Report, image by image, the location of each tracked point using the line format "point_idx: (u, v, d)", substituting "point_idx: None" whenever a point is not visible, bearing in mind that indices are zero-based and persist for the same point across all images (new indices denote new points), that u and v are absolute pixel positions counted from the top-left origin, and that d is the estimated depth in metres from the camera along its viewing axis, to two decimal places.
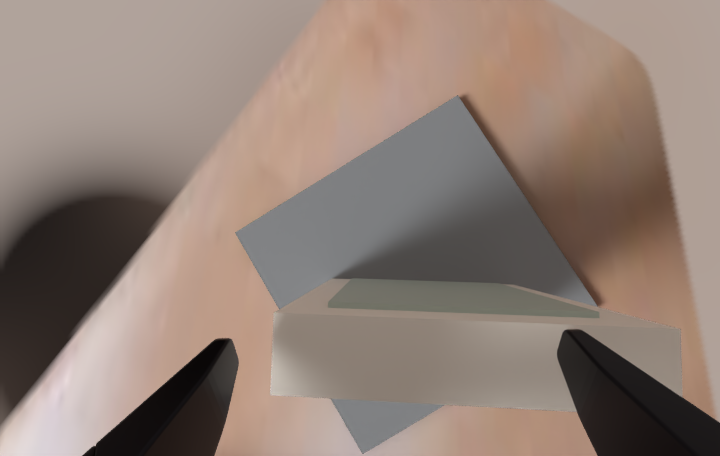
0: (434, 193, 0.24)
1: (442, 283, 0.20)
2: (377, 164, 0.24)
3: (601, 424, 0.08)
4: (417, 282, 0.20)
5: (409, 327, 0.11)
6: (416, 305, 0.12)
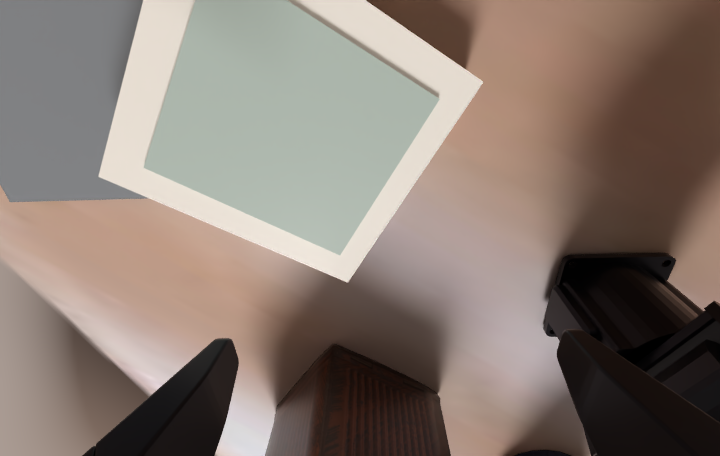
0: None
1: (217, 73, 0.14)
2: None
3: (601, 424, 0.08)
4: (203, 104, 0.15)
5: (386, 221, 0.18)
6: (368, 209, 0.17)
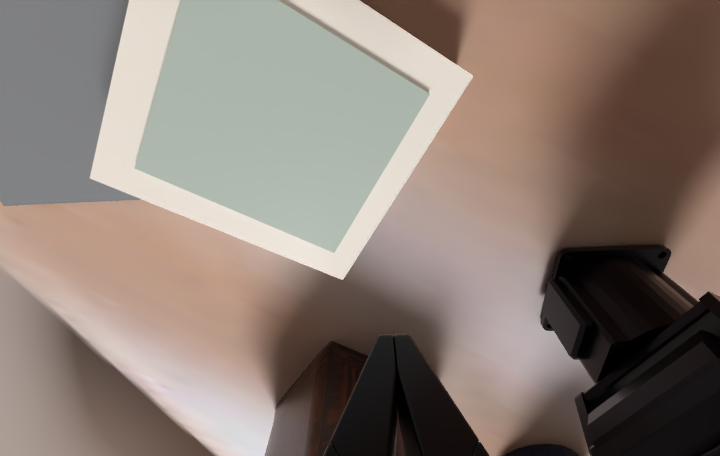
0: None
1: (206, 72, 0.14)
2: None
3: (402, 426, 0.08)
4: (192, 103, 0.15)
5: (380, 218, 0.18)
6: (361, 206, 0.17)
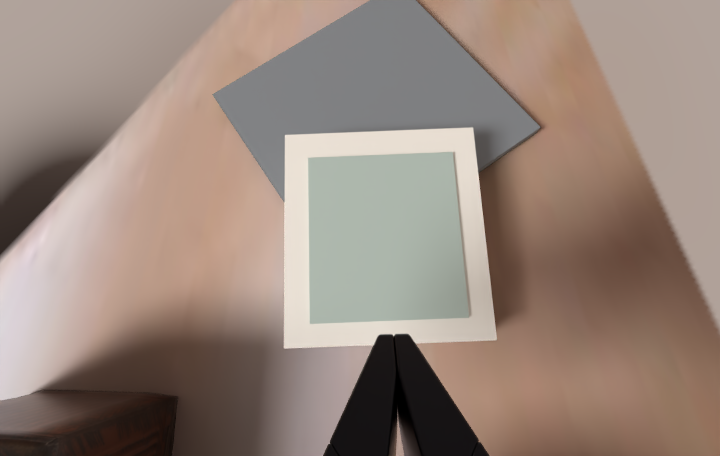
0: (385, 51, 0.28)
1: (395, 177, 0.22)
2: (335, 34, 0.29)
3: (402, 426, 0.08)
4: (372, 177, 0.22)
5: (358, 345, 0.20)
6: (363, 320, 0.20)
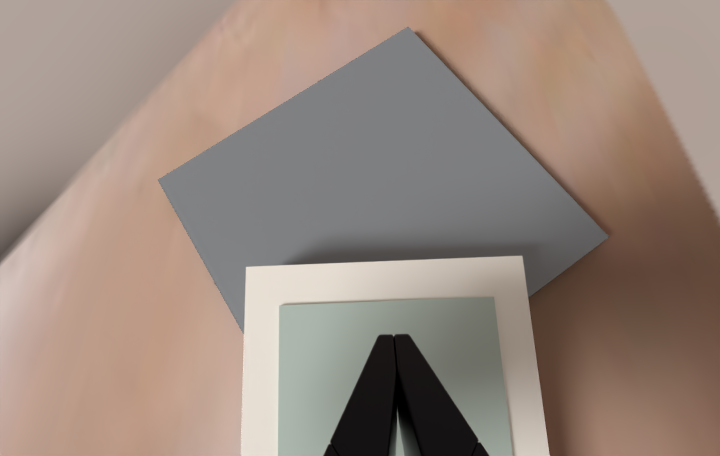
0: (391, 121, 0.21)
1: None
2: (324, 97, 0.21)
3: (402, 426, 0.08)
4: (374, 337, 0.14)
5: None
6: None
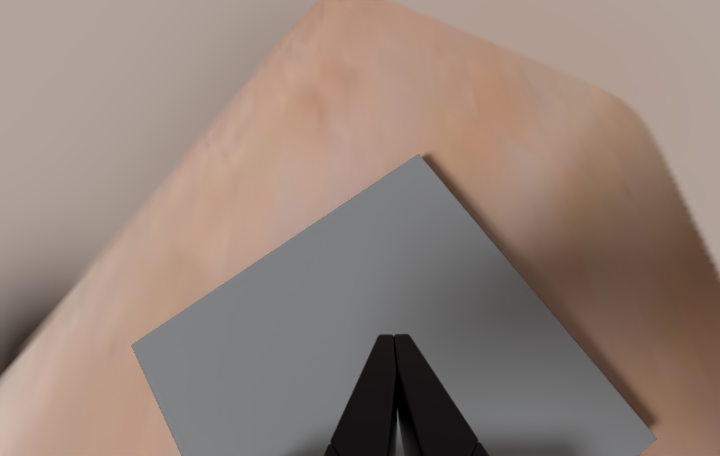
0: (400, 276, 0.18)
1: None
2: (323, 242, 0.19)
3: (402, 426, 0.08)
4: None
5: None
6: None
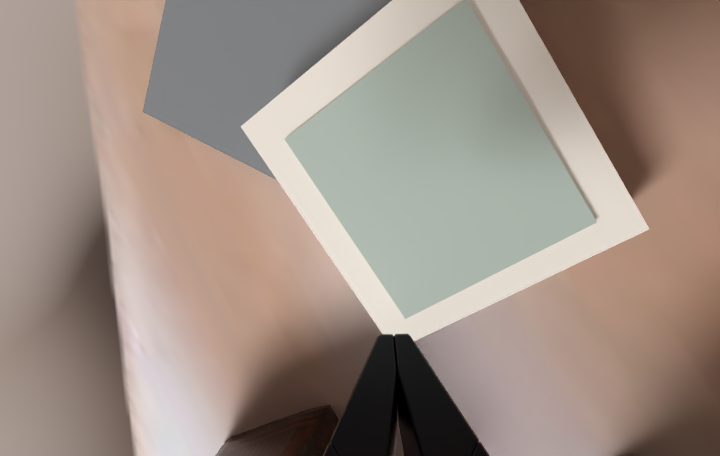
0: None
1: (404, 95, 0.14)
2: None
3: (402, 427, 0.08)
4: (374, 113, 0.15)
5: (470, 311, 0.17)
6: (462, 289, 0.16)
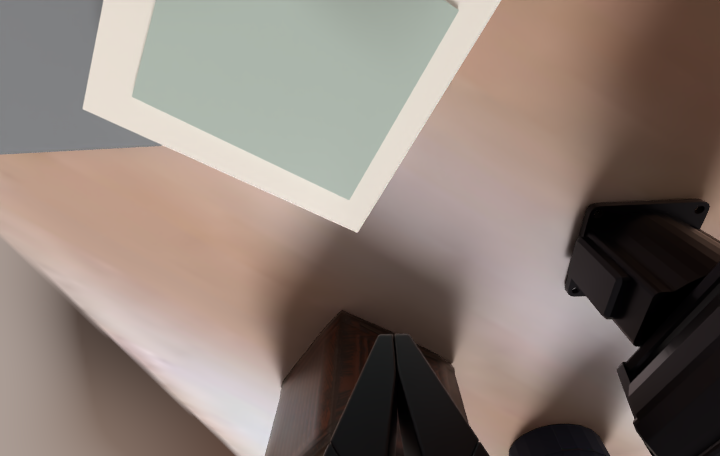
0: None
1: None
2: None
3: (402, 427, 0.08)
4: (196, 18, 0.13)
5: (399, 161, 0.17)
6: (379, 145, 0.16)
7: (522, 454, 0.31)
